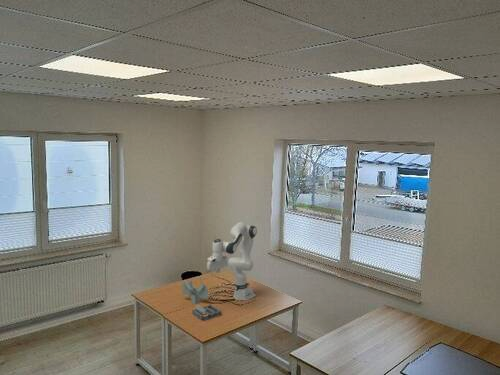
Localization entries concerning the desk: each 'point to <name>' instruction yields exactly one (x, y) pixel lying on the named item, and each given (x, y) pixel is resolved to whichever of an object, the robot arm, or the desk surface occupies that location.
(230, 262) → the robot arm
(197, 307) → the panel
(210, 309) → the rack
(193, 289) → the bracket
